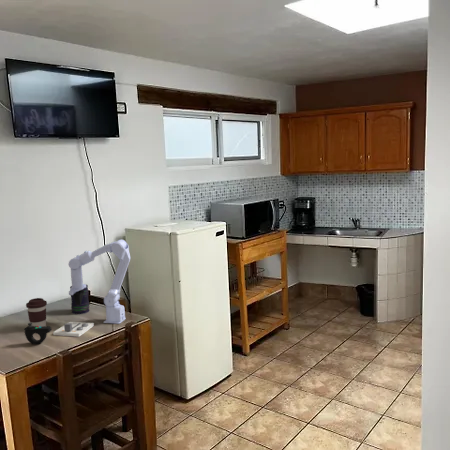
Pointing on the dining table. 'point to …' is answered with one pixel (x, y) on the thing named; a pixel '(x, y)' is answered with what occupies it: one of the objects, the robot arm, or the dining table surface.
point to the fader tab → (68, 326)
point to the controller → (38, 330)
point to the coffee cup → (37, 311)
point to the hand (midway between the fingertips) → (78, 304)
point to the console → (74, 329)
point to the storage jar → (84, 304)
